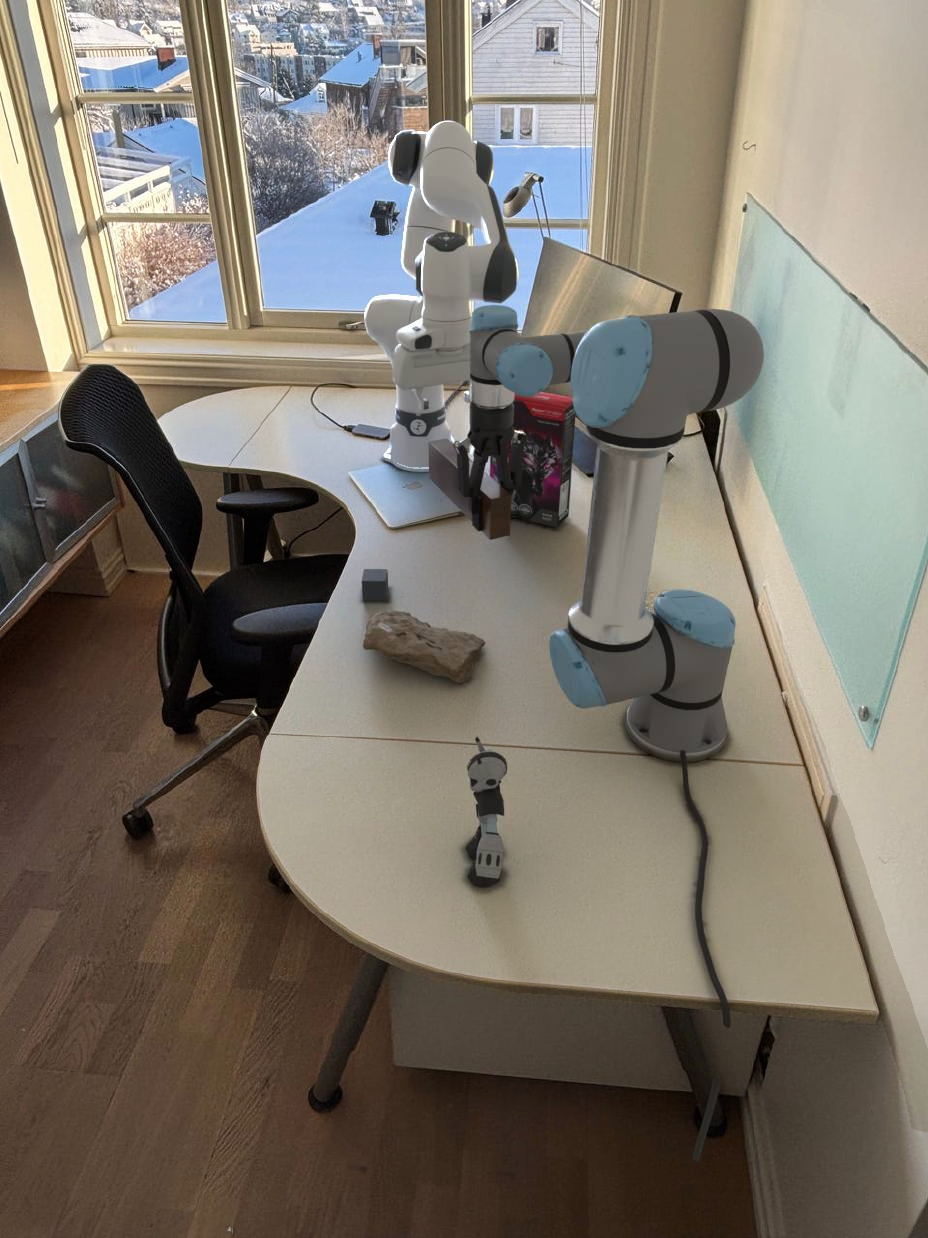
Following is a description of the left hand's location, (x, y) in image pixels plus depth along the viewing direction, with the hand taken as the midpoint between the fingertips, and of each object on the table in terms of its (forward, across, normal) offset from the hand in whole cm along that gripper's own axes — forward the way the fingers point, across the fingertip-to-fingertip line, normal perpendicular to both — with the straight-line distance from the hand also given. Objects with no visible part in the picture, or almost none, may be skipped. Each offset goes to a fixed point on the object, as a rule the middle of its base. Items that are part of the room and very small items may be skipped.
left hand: (446, 405), depth 173 cm
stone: (+31, +20, +33) cm, 49 cm away
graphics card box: (+31, -22, -6) cm, 38 cm away
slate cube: (+31, +20, +11) cm, 38 cm away
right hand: (+16, 0, +19) cm, 25 cm away
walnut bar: (+17, 0, +10) cm, 19 cm away
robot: (+31, +29, +79) cm, 90 cm away
